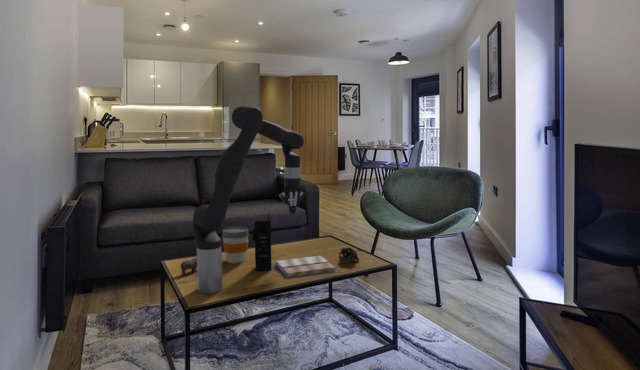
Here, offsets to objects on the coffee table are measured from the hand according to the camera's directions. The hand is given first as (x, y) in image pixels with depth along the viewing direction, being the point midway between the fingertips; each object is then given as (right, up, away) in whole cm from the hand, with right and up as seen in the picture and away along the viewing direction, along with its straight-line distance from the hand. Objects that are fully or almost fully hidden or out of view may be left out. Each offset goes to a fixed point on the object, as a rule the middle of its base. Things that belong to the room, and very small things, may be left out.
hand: (292, 213), depth 202 cm
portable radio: (-13, -25, -10) cm, 29 cm away
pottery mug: (+26, -23, +1) cm, 35 cm away
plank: (+5, -23, -5) cm, 24 cm away
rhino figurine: (-43, -25, -12) cm, 51 cm away
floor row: (+8, -25, -13) cm, 29 cm away
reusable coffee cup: (-27, -23, +4) cm, 36 cm away
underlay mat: (+6, -24, -8) cm, 26 cm away
